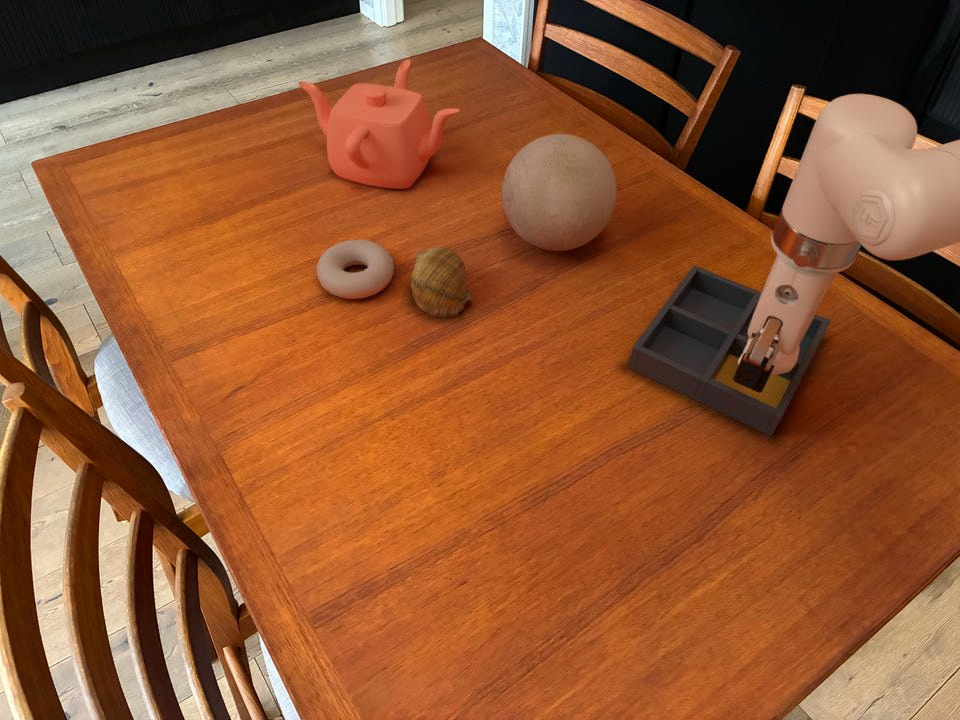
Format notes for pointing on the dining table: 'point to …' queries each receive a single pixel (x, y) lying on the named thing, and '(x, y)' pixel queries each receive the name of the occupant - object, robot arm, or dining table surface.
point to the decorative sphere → (559, 192)
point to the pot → (379, 132)
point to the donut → (358, 282)
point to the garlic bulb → (778, 359)
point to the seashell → (439, 282)
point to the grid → (717, 350)
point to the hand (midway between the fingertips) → (760, 363)
